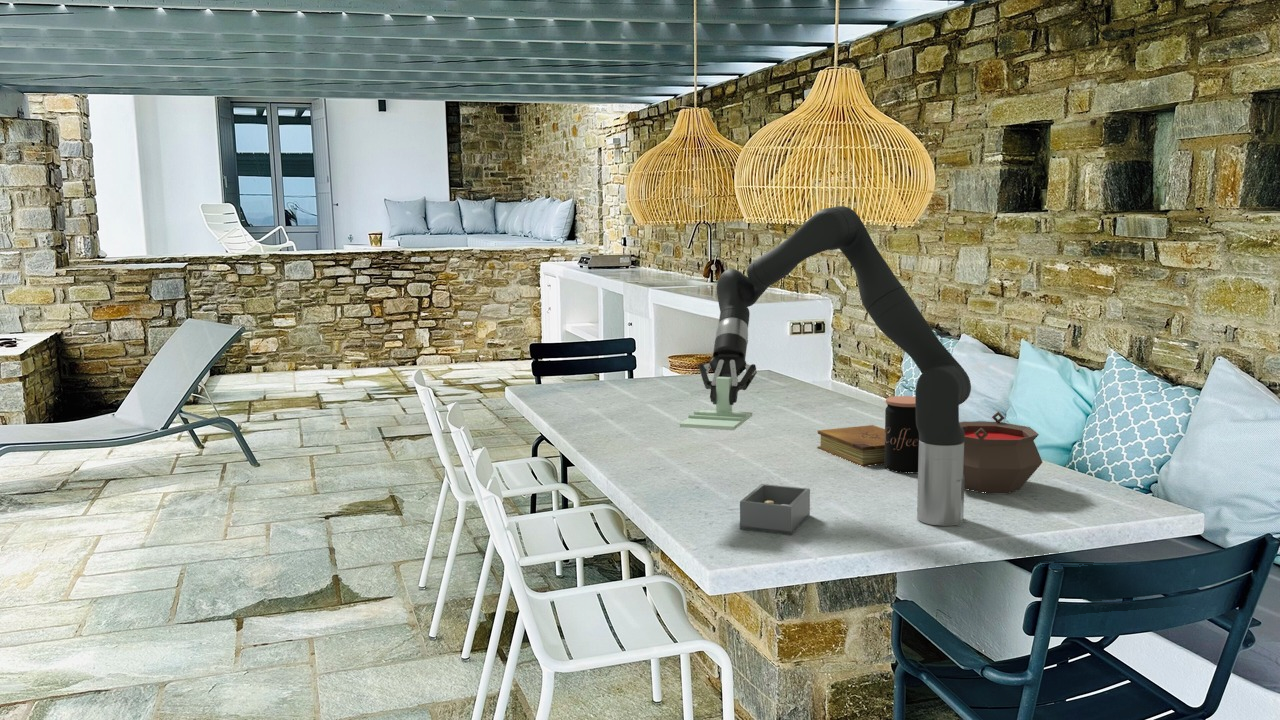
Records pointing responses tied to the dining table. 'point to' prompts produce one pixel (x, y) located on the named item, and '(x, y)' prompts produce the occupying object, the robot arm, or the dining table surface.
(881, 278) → the robot arm
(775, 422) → the dining table surface
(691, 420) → the lid
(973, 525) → the dining table surface
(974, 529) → the dining table surface
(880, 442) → the diary
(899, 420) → the coffee jar
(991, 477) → the brown faceted pot
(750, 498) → the tub
